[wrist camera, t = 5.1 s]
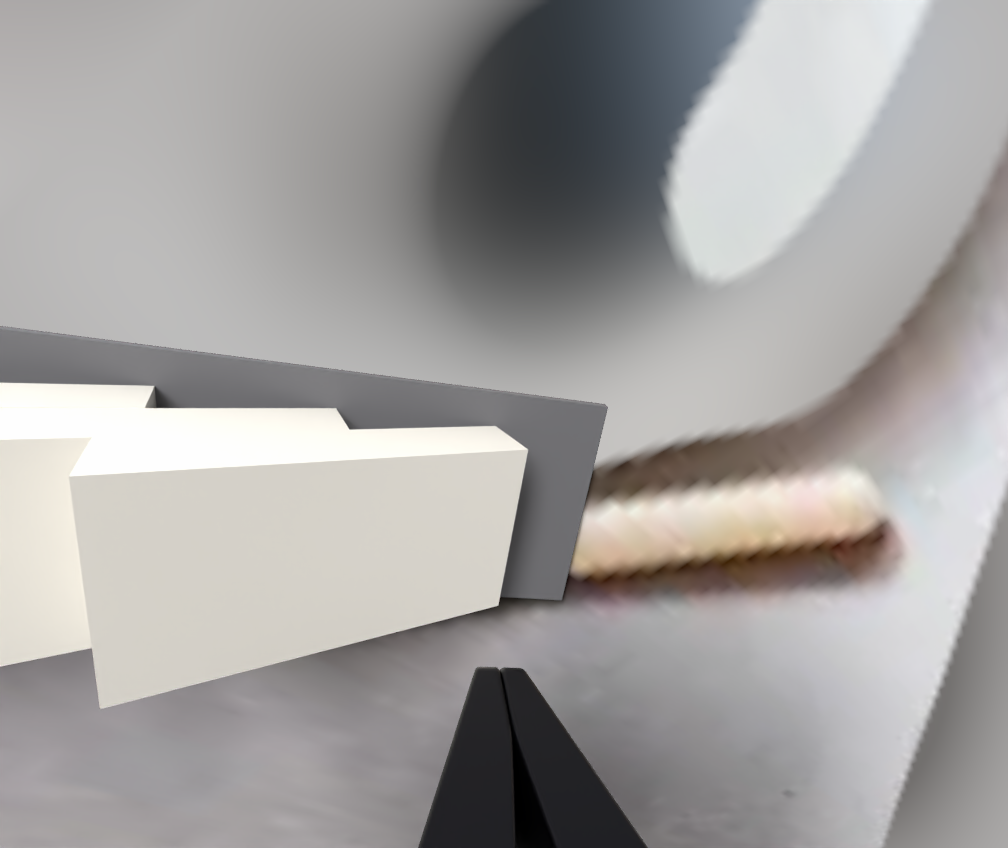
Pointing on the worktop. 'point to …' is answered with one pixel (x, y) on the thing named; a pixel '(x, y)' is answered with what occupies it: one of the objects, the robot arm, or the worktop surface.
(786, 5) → the worktop surface
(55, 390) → the domino
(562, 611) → the worktop surface
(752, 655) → the worktop surface
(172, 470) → the domino
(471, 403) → the strip
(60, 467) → the domino
